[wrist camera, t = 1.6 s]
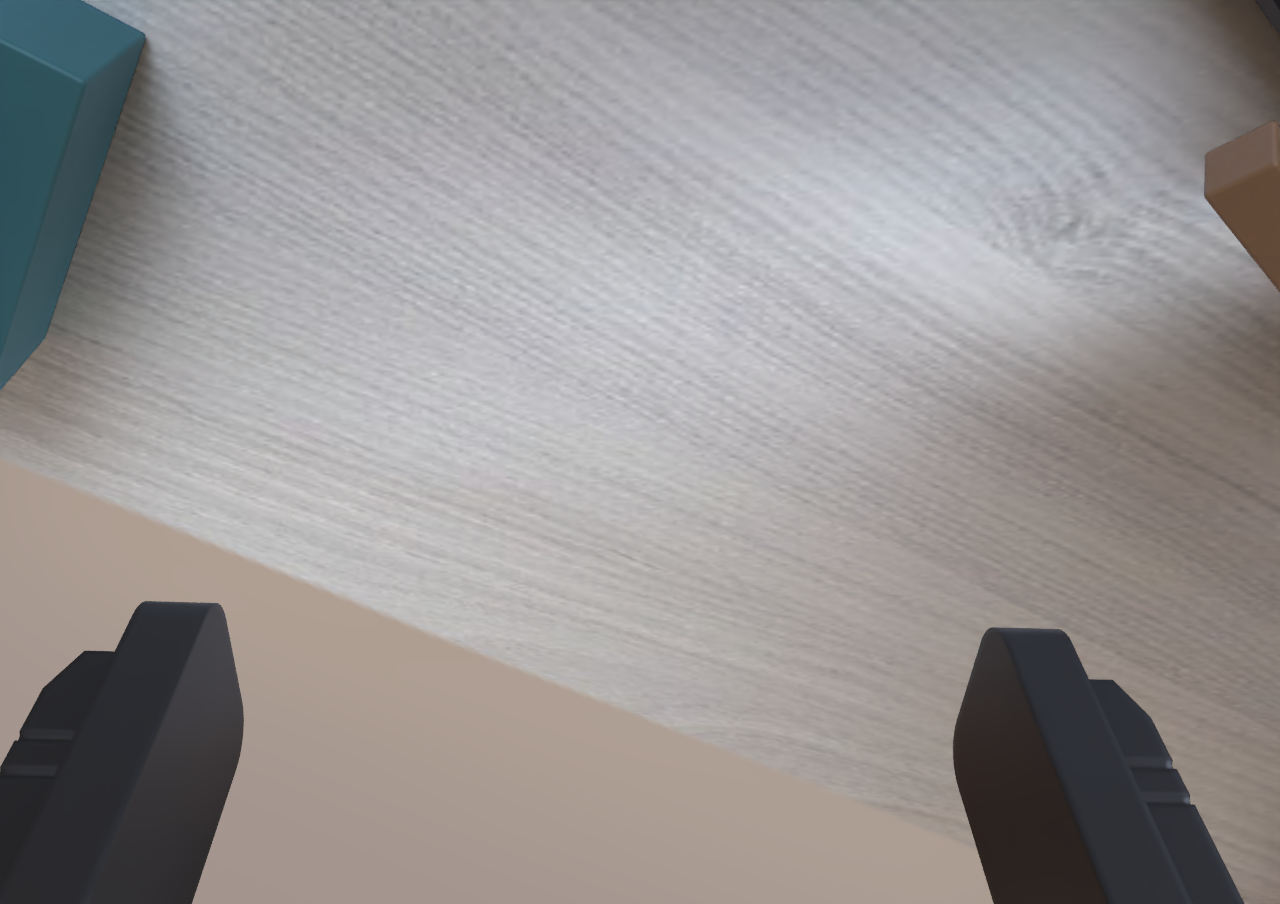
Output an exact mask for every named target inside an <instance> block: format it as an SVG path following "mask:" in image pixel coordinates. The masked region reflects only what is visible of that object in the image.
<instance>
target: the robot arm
mask: <svg viewBox="0 0 1280 904" xmlns="http://www.w3.org/2000/svg"><path fill="white" fill-rule="evenodd" d="M243 723H244V717H243V705H242V699H241V693H240V688H239V683H238V678H237V673H236V668H235V662H234V658H233V653H232V648H231V642H230V637H229V632H228V627H227V621H226V617H225V613H224V611H223V608H222V607H221V605H219V604H218V603H189V602H155V601H154V602H153V601H145V602H142V603H141V604H140V605H139V606H138V607H137V608H136V610H135V612H134V613H133V615H132V618H131V619H130V621H129V624H128V626H127V627H126V630H125V632H124V634H123V636H122V638H121V640H120V642H119V644H118V646H117V648H116V650H115V652H111V651H84V652H83V653H82V654H81V655H79V656H78V657H77V658H76V659H75V660H74V661H73V662H72V663H70V664H69V665H68V666H67V667H66V668H65V669H64V670H63V671H62V672H61V673H59V674H58V675H57V676H56V677H55V678H54V679H53V680H52V681H51V682H49V683H48V684H47V685H46V686H45V687H44V688H43V690H42V691H41V693H40V695H39V697H38V698H37V701H36V702H35V704H34V706H33V708H32V710H31V712H30V713H29V715H28V717H27V719H26V721H25V723H24V724H23V726H22V728H21V730H20V737H19V740H18V741H14V743H13V745H12V747H11V748H10V750H9V752H8V754H7V756H6V758H5V760H4V761H3V763H2V765H1V767H0V904H192V901H193V898H194V895H195V892H196V889H197V886H198V883H199V880H200V877H201V874H202V871H203V868H204V865H205V862H206V859H207V856H208V853H209V850H210V847H211V844H212V841H213V837H214V835H215V832H216V829H217V826H218V822H219V820H220V817H221V813H222V811H223V807H224V804H225V801H226V798H227V795H228V792H229V789H230V786H231V783H232V780H233V777H234V774H235V771H236V768H237V764H238V761H239V757H240V752H241V746H242V739H243ZM953 759H954V769H955V775H956V780H957V784H958V788H959V791H960V794H961V798H962V801H963V804H964V807H965V811H966V814H967V817H968V820H969V824H970V827H971V830H972V834H973V837H974V840H975V843H976V847H977V850H978V853H979V857H980V859H981V863H982V866H983V870H984V873H985V876H986V880H987V882H988V886H989V889H990V892H991V896H992V899H993V902H994V904H1244V902H1243V900H1242V898H1241V896H1240V894H1239V892H1238V890H1237V888H1236V886H1235V884H1234V882H1233V880H1232V878H1231V876H1230V874H1229V872H1228V870H1227V868H1226V866H1225V864H1224V862H1223V860H1222V858H1221V856H1220V854H1219V852H1218V850H1217V848H1216V846H1215V844H1214V842H1213V840H1212V838H1211V836H1210V834H1209V832H1208V830H1207V828H1206V826H1205V824H1204V822H1203V820H1202V818H1201V816H1200V814H1199V812H1198V810H1197V808H1196V806H1195V805H1191V804H1190V794H1189V792H1188V790H1187V788H1186V786H1185V784H1184V782H1183V781H1182V779H1181V777H1180V775H1179V773H1178V771H1177V769H1173V767H1172V759H1171V757H1170V755H1169V753H1168V751H1167V749H1166V747H1165V745H1164V743H1163V741H1162V739H1161V737H1160V735H1159V733H1158V731H1157V729H1156V727H1155V725H1154V723H1153V721H1152V719H1151V717H1150V716H1149V715H1148V714H1147V713H1146V712H1145V711H1144V710H1143V709H1142V708H1141V707H1140V706H1139V705H1138V704H1137V703H1136V702H1135V701H1134V700H1133V699H1131V698H1130V697H1129V696H1128V695H1127V694H1126V693H1125V692H1124V691H1123V690H1122V689H1121V688H1120V687H1119V686H1118V685H1117V684H1116V683H1115V682H1114V681H1113V680H1091V679H1088V677H1087V674H1086V672H1085V670H1084V668H1083V666H1082V664H1081V661H1080V659H1079V657H1078V655H1077V653H1076V651H1075V648H1074V646H1073V644H1072V642H1071V640H1070V638H1069V637H1068V636H1067V634H1066V633H1065V632H1063V631H1062V630H1059V629H1030V628H989V629H988V630H987V631H986V632H985V634H984V636H983V638H982V641H981V643H980V647H979V650H978V653H977V656H976V660H975V663H974V666H973V669H972V673H971V676H970V679H969V682H968V686H967V689H966V692H965V695H964V699H963V702H962V705H961V708H960V712H959V715H958V718H957V722H956V725H955V731H954V740H953Z"/></svg>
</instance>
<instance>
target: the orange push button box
mask: <svg viewBox="0 0 1280 904" xmlns="http://www.w3.org/2000/svg"><path fill="white" fill-rule="evenodd" d="M144 42H145V34H144V33H142V32H140V31H139V30H137V29H135V28H133V27H131V26H129V25H127V24H125V23H123V22H121V21H119V20H118V19H116V18H114V17H112V16H110V15H108V14H106V13H104V12H102V11H100V10H98V9H96V8H95V7H93V6H91V5H89V4H87V3H85V2H83V1H81V0H0V390H1V389H2V388H3V387H4V385H5V384H6V383H7V382H8V381H9V380H10V378H11V377H12V376H13V375H14V374H15V373H16V371H17V370H18V369H19V368H20V367H21V366H22V364H23V363H24V362H25V361H26V360H27V359H28V357H29V356H30V355H31V354H32V353H33V352H34V350H35V349H36V348H37V347H38V346H39V345H40V343H41V342H42V341H43V340H44V339H45V337H46V334H47V331H48V328H49V325H50V322H51V319H52V316H53V313H54V310H55V307H56V304H57V301H58V298H59V295H60V292H61V289H62V286H63V283H64V280H65V277H66V274H67V271H68V268H69V265H70V262H71V259H72V256H73V253H74V250H75V247H76V244H77V241H78V238H79V235H80V232H81V229H82V226H83V224H84V221H85V218H86V215H87V212H88V209H89V206H90V203H91V200H92V197H93V194H94V191H95V188H96V185H97V182H98V179H99V176H100V173H101V170H102V167H103V164H104V161H105V158H106V155H107V152H108V149H109V146H110V143H111V140H112V137H113V134H114V131H115V128H116V125H117V122H118V119H119V116H120V113H121V110H122V107H123V104H124V102H125V99H126V96H127V93H128V90H129V87H130V84H131V81H132V78H133V75H134V72H135V69H136V66H137V63H138V60H139V57H140V54H141V51H142V48H143V45H144Z"/></svg>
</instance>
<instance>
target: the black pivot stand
mask: <svg viewBox="0 0 1280 904" xmlns="http://www.w3.org/2000/svg"><path fill="white" fill-rule="evenodd" d="M1256 2H1257V3H1258V5H1259V6H1260V8H1261V9H1262V11H1263V12H1264V13H1265V15H1266V16H1267V18H1268V19H1269V21H1270V22H1271V23H1272V25H1273V26H1274V28H1275V29H1276V31H1277V32H1278V33H1279V35H1280V0H1256Z"/></svg>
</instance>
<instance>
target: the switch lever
mask: <svg viewBox="0 0 1280 904" xmlns="http://www.w3.org/2000/svg"><path fill="white" fill-rule="evenodd" d="M1204 196H1205V199H1206V200H1207V201H1208V203H1209V204H1210V205H1211V206H1212V208H1213V209H1214V210H1215V211H1216V213H1217V214H1218V215H1219V216H1220V218H1221V219H1222V220H1223V221H1224V223H1225V224H1226V225H1227V226H1228V228H1229V229H1230V230H1231V231H1232V233H1233V234H1234V235H1235V237H1236V238H1237V239H1238V240H1239V242H1240V243H1241V244H1242V245H1243V247H1244V248H1245V249H1246V250H1247V252H1248V253H1249V254H1250V255H1251V257H1252V258H1253V259H1254V260H1255V262H1256V263H1257V264H1258V265H1259V267H1260V268H1261V269H1262V271H1263V272H1264V273H1265V274H1266V276H1267V277H1268V278H1269V279H1270V281H1271V282H1272V283H1273V284H1274V286H1275V287H1276V288H1277V289H1278V291H1279V292H1280V125H1279V124H1278V123H1277V122H1276V121H1270V122H1268V123H1266V124H1264V125H1262V126H1260V127H1258V128H1256V129H1254V130H1252V131H1250V132H1248V133H1246V134H1244V135H1242V136H1240V137H1238V138H1236V139H1234V140H1232V141H1230V142H1228V143H1226V144H1224V145H1222V146H1219V147H1217V148H1215V149H1213V150H1211V151H1209V152H1208V153H1207V154H1206V155H1205V182H1204Z"/></svg>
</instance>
